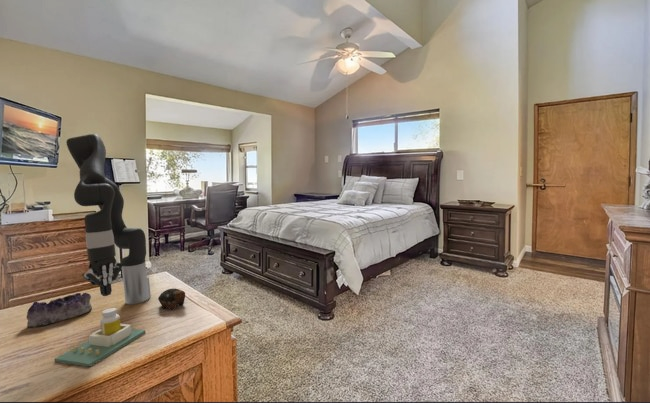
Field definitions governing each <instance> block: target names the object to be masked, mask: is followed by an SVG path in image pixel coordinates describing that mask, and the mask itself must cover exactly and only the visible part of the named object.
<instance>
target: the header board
mask: <svg viewBox="0 0 650 403" xmlns="http://www.w3.org/2000/svg"><path fill="white" fill-rule="evenodd" d="M120 325H121V330H119V331H117V332H116V333H114V334H112V335H110V336H105V335H102V331H101V328H100V329H98V330H96V331H94V332H92V333H91V334H90V335H89V336H88V339H89V340H87V341H85V342H83V343H82V344H79V345H78V346H77V345H75V346H73V348H72V349H70V350H69V351H66V352H64V353H63V354H60V355H58V356H56V357H55V358H54V362H55V363H63V364H67V363H68V365H73V364H75V365H74V366H79V365H84V366H83V367H86V366H91V365H92V366H94V365H95V364H94V363H96V362H97V363H98V361H99V360H101V359H102V360H103V358H104V359H106V358H108V357H109V356H111V354H113V353H116V352H117V351H119V350H120V349H122V348H124V347H125V346H127V345H129V344H130V343H131V342H134V341H135V340H136V339H138V338H140V337H142V336H143V335H144V334H146V330H144V329H136V328H132V324H128V323H126V324H125V323H120ZM102 360H101V361H102ZM99 362H100V361H99ZM97 363H96V364H97ZM93 364H94V365H93ZM92 366H91V367H92Z"/></svg>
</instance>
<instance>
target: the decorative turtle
mask: <svg viewBox="0 0 650 403" xmlns="http://www.w3.org/2000/svg"><path fill="white" fill-rule="evenodd" d="M157 299H158V301H159V304H160V305H161V307H162V308H163V309H164V310H166V309H169V310H170V311H174V310H175V309H176V307H177V306H181V307H182V306H183V305H184V304H185V299H186V292H185V291H184V290H182V289H180V288H169V289H166V290H164V291H162V292H161V293H160V294H159V296H158V298H157Z"/></svg>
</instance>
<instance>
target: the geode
mask: <svg viewBox="0 0 650 403" xmlns="http://www.w3.org/2000/svg"><path fill="white" fill-rule="evenodd" d="M91 299H92V296H91V294H90V293H87V292H83V293H82V294H81V292H76V293H73V294H69V295H66V296H64V297H59V298H56V299H53V300H50V301H49V302H46V301H41V302H38V301H37V300H36V301H34V302H33V303H32V305H31V306H30V307H29V308H28V309H27V313H26V314H27V315H26V320H27V324H26V326H27V327H26V328H27V329H34V327H35V328H40V327H44V326H47V325H50V324H54V323H57V322H61V321H65V320H68V319H73V318H75V317H77V316H81V315H84V314H86V313H88V312H91V311H92V310H93V306H92V303H91V302H90V300H91Z"/></svg>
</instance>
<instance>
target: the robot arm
mask: <svg viewBox="0 0 650 403" xmlns="http://www.w3.org/2000/svg"><path fill="white" fill-rule="evenodd" d="M66 147H67V150H68V151H69V154H70V156H71V158H72V159H73V161H74V162H75V164H76V165H77V167H78V169H79V182H78V183H77V185H76V187H75V189H74V194H73V195H74V196H73V198H74V201H75V202H76V203H77V204H78V206H80V207H91V206H92V207H95V206H98V208H99V210H98V211H95V212H92V213H88V214H86V215H85V216H84V227H85V228H84V229H85V243H86V253H87V254H86V255H87V260H88V262H89V265H88V270H87V271H86V272H83V273H82V274H81V276H82V277H83V279H85V280H86V281H88V283H89V284H92V285H93V286H99V290H100V295H101V296H102V297H108V296H110V295H112V291H113V290H112V282H113V281H116V280H117V278H118V276H119V274H120V272H122V273H121V274H122V282H123V283H122V284H123V291H124V292H123V294H124V301H125V304H126V305H137V304H141V303H143V302H144V303H145V302H146V301H148V300H149V299H150V298H151V285H150V278H149V276H148V274H147V273H148V272H147V265H146V257H147V242H146V241H147V240H146V239H147V238H146V234H145V231H144V230H143V229H142V228H139V227H127V226H126V224H125V221H124V219H123V210H124V206H125V200H124V198H123V195H122V193H121V190H120V188H119V186H118V185H117V184H116V183H115V182H114V181H112V180H111V179H110V178H107V177H106V174H105V162H106V158H107V156H106V155H107V150H106V146H105V144H104V141H103V140H102V138H101V137H100V136H99V135H98V134H96V133H89V134H84V135H79V136H74V137H70V138H67V140H66ZM116 247H117V248H119V249H120V250H121V249H122V250H128V255H127V256H125V257H122V258H121V260H120V262H118V261H117V259H116V256H117V254H116V253H117V252H116Z"/></svg>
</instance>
